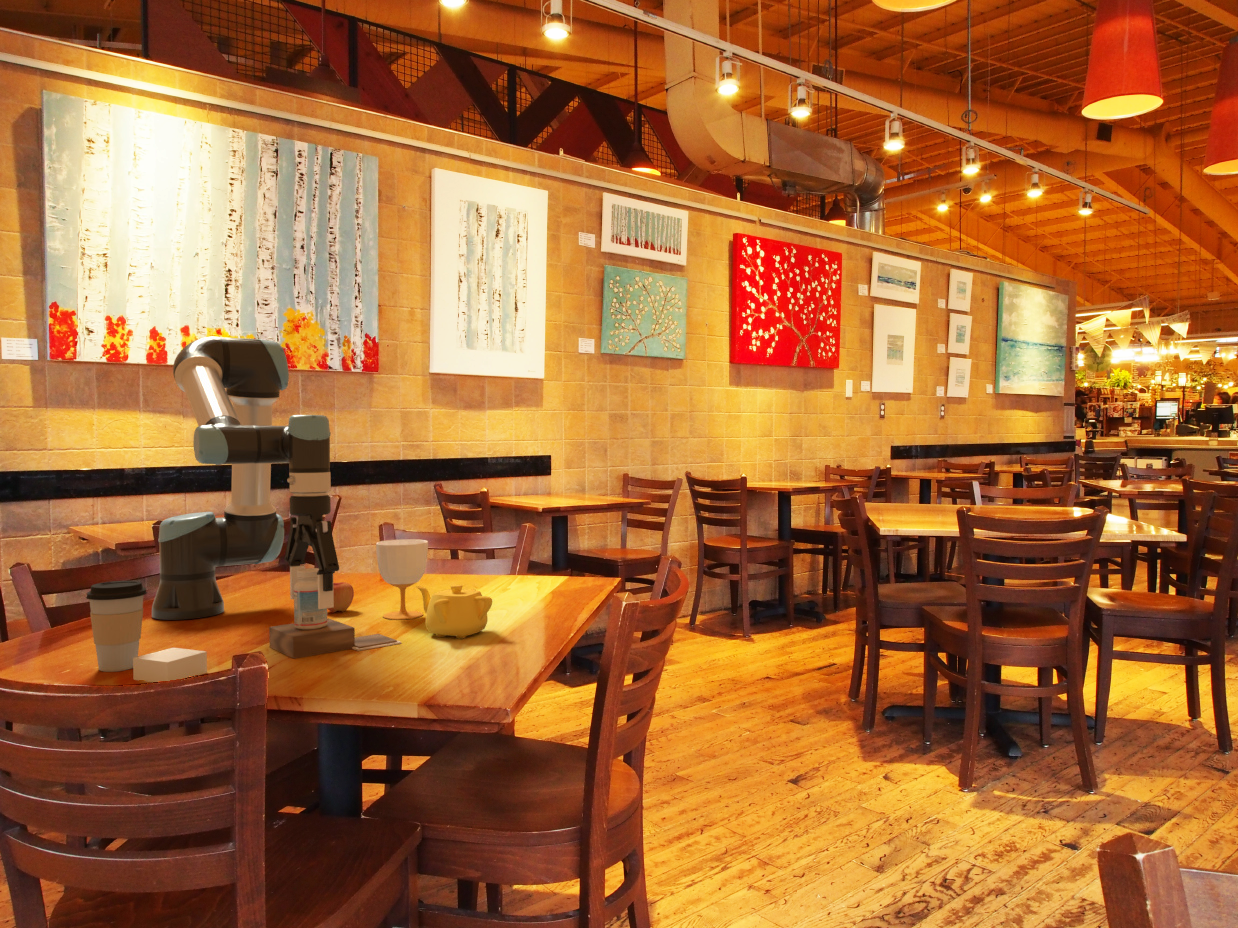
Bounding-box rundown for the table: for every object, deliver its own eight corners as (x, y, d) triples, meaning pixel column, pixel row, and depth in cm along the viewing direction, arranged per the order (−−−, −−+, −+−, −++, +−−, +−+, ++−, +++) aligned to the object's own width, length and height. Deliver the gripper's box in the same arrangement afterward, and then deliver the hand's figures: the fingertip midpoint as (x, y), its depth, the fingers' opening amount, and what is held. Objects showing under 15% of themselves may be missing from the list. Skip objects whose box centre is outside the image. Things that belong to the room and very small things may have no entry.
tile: (337, 642, 175) (337, 639, 175) (380, 635, 181) (379, 632, 181) (357, 650, 168) (357, 647, 168) (401, 643, 174) (401, 640, 174)
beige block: (133, 681, 148) (133, 657, 148) (173, 669, 156) (173, 647, 156) (167, 685, 145) (167, 662, 145) (207, 674, 153) (206, 651, 153)
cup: (365, 618, 198) (364, 543, 198) (397, 609, 209) (396, 538, 208) (409, 622, 194) (408, 546, 193) (439, 612, 204) (438, 540, 204)
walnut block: (269, 647, 171) (269, 626, 171) (328, 637, 179) (328, 618, 179) (293, 658, 162) (293, 636, 162) (354, 647, 170) (354, 627, 170)
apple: (358, 612, 205) (357, 578, 205) (326, 616, 201) (326, 581, 201) (348, 607, 212) (348, 574, 211) (317, 610, 207) (317, 577, 207)
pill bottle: (333, 624, 172) (333, 568, 172) (313, 631, 167) (312, 572, 166) (308, 622, 175) (307, 566, 174) (287, 629, 169) (286, 571, 168)
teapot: (426, 643, 174) (425, 592, 174) (416, 630, 186) (415, 582, 185) (493, 637, 179) (493, 587, 179) (479, 625, 191) (479, 578, 191)
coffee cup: (104, 661, 160) (102, 580, 160) (157, 660, 161) (156, 579, 161) (76, 675, 151) (74, 588, 151) (133, 673, 152) (131, 588, 151)
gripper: (267, 492, 177) (268, 596, 177) (317, 498, 158) (319, 615, 159) (303, 490, 182) (304, 592, 182) (356, 496, 163) (358, 609, 164)
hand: (311, 603), depth 170 cm, fingers open, 13 cm apart
